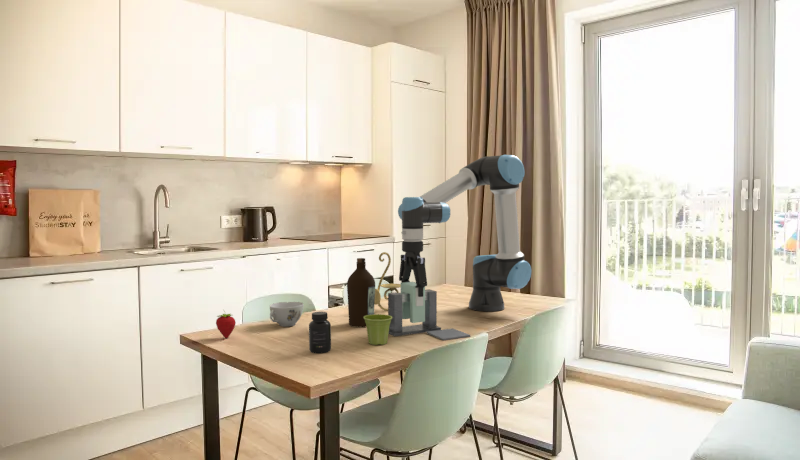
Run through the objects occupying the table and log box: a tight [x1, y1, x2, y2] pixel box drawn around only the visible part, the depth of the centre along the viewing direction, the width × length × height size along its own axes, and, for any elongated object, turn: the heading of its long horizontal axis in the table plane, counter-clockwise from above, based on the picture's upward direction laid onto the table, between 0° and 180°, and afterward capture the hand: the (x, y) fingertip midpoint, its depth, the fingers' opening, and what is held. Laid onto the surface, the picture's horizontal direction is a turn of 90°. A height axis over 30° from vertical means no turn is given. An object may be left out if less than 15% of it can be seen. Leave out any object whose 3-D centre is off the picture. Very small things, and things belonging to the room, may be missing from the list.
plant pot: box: [364, 313, 392, 346], centre depth 184 cm, size 9×9×9 cm
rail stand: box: [387, 289, 442, 337], centre depth 200 cm, size 19×8×14 cm, turn 118°
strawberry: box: [215, 310, 236, 339], centre depth 191 cm, size 6×8×10 cm
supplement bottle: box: [308, 311, 332, 355], centre depth 175 cm, size 7×7×12 cm
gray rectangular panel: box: [425, 327, 471, 341], centre depth 195 cm, size 11×11×1 cm
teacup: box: [269, 301, 304, 328], centre depth 209 cm, size 15×12×8 cm
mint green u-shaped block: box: [400, 281, 426, 324], centre depth 200 cm, size 5×9×13 cm, turn 28°
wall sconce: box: [374, 251, 401, 312], centre depth 236 cm, size 14×10×25 cm
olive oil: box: [346, 257, 376, 328], centre depth 210 cm, size 11×11×25 cm
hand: (412, 303), depth 200 cm, fingers closed on mint green u-shaped block, 9 cm apart
